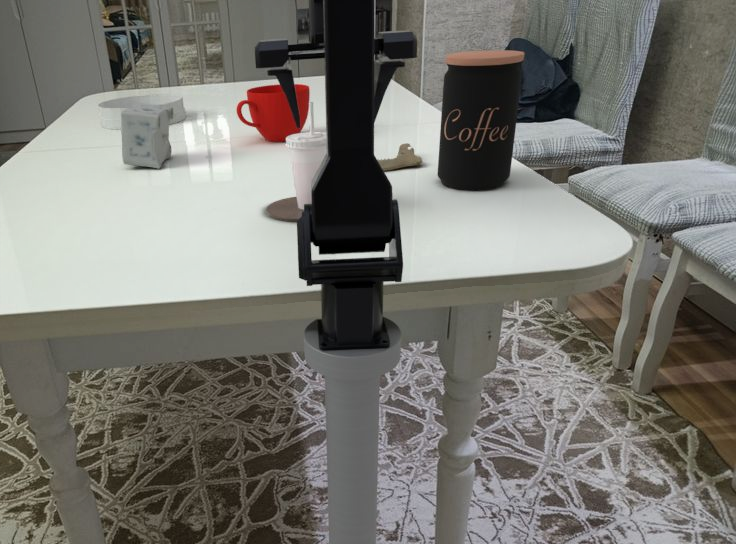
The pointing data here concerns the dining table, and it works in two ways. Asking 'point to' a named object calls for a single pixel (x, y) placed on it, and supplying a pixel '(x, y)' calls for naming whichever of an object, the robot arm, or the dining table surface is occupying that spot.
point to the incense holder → (146, 135)
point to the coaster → (285, 210)
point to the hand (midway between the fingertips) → (335, 125)
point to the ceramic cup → (275, 111)
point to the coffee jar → (479, 118)
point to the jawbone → (401, 159)
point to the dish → (113, 108)
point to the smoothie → (306, 158)
